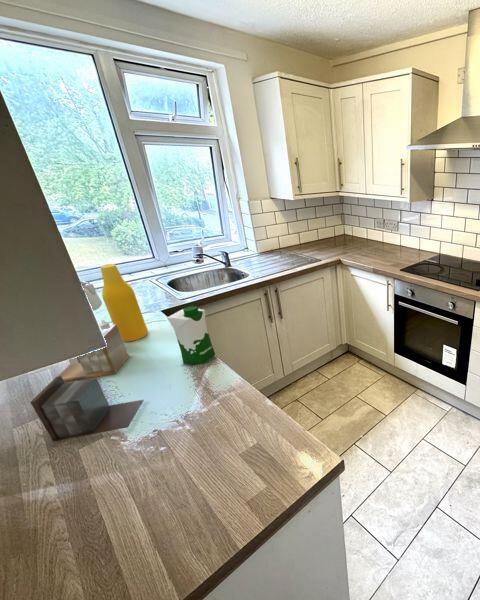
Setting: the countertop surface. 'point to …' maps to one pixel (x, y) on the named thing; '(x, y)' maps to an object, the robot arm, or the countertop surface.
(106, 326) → the eye dropper bottle
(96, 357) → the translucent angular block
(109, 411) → the grey book rack
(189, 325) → the milk carton
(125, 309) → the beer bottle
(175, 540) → the countertop surface
